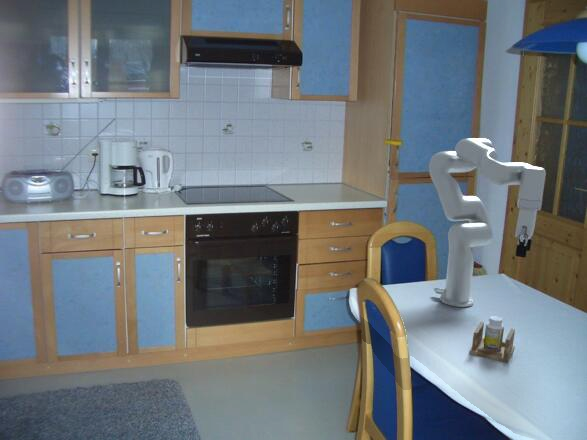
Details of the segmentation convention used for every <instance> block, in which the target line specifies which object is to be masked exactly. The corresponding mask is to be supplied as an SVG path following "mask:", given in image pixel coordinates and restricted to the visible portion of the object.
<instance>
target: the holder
mask: <svg viewBox="0 0 587 440" xmlns="http://www.w3.org/2000/svg"><path fill="white" fill-rule="evenodd" d="M484 327H485V322H482V321H480V322H479V324H478V325H477V327H476V328H475V330H474V331H473V335H472V336H473V337H472V343H471V344H472V346H470V349H469V351H468V352H469V353H468V354H469V355H470V354H471V355H475V356H477V357H483V358H486V359H491V360H495V361H499V362H504V363H506V364H507V363H509V361H510V359H511V357H512V356H513V355H512V354H513V353H514V350H515V347H516V346H515V345H514V339H515V333H516V330H515V328H510V330H509V332H508V333H507V336H506V338H505V341H503V340H502V347H501V349H500V350H498V351H493V350H489V349H486V348H485V347H484V338H485V336H484V337H483V334H484Z"/></svg>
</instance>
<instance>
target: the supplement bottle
mask: <svg viewBox="0 0 587 440" xmlns="http://www.w3.org/2000/svg"><path fill="white" fill-rule="evenodd" d="M504 332H505V325H504V324H503V318H501V317H500V316H497V315H492V316H489V317H488V321H487V322H486V323H485V329H484V337H485V338H484V337H483V339H484V347H485V348H486V349H489V350H493V351H498V350H500V349H501V347H502V341H503V338H504Z"/></svg>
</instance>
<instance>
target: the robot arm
mask: <svg viewBox="0 0 587 440" xmlns="http://www.w3.org/2000/svg"><path fill="white" fill-rule="evenodd" d="M428 166H429V167H428V171H429V175H430V179H431V181H432V183H433V185H434V187H435V189H436V192H437V194H438V198H439V200H440V203H441V207H442V209H443V212H444V214H445V217H446V219H447V220H449V221H451V222H457V223H454V224H453V225H451V226H450V227H449V229H448V232H447V239H448V259H447V269H446V277H445V279H446V280H445V287H439V286H434V288H433V291H434V292H435V294H438V295H440V297H439V300H440V301H441V303H443V304H445V305H448V306H451V307H456V308H468V307H471V306H473V304H474V300H473V298H472V297H471V291H472V289H471V288H472V281H473V273H474V272H473V271H474V262H475V261H474V260H475V259H474V257H475V256H474V255H473V252H472V249H471V248H474V247H482V246H483V247H484V246H487V245H489V244H490V243H491V242H492V241H493V237H494V233H493V226H492V224H491V221H490V218H489V216H488V212H487V209H486V207H485V204H484V203H483V201H482V200H481V199H480V198H479V197H477V196H475V195H463V193H462V190H461V188H460V185H459V183H458V181H457V180H456V179H455V178H454V177H453V176H452V175H451V174H457V173H468V172H472V171H473V170H475V169H478V170H479V172H480V175H481V177H482V178H483V179H484V180H487V181H489V182H491V183H493V184H495V185H498V186H519V188H518V198H517V204H516V207H517V208H518V209H519V211H518V215H517V221H516V226H515V227H516V228H515V231H514V232H515V233H514V234H515V235H514V237H515V238H518V240H517V244H516V249H515V256H516V257H520V258H523V259H524V258H526V257H527V251H529V252H530V251H531V246H532V236H533V235H534V231H535V228H536V226H535V225H536V219H537V214H538V211H541V210H542V205H543V196H544V188H545V182H546V174H547V172H546V169H545V168H543V167H539V166H534V165H531V164H529V163H526V162H500V161H499V155H498V152H497V150H495V147H494V145H493V142H491V140H489V139H487V138H484V137H483V138H482V137H479V138H475V137H473V138H470V137H469V138H463V139H461V140H459V141H458V142H457V144H456V145H455V147H454V150H445V151H444V150H443V151H439V152H437V153H435V154H433V155H432V157H431V158H430V160H429V165H428ZM463 221H465V222H463Z"/></svg>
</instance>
